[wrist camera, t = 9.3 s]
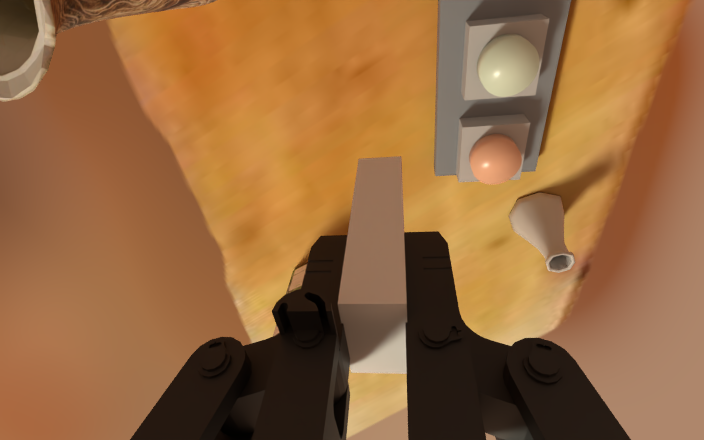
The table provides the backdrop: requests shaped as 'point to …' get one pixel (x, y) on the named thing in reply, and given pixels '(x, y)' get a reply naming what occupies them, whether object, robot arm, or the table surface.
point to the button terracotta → (495, 159)
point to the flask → (543, 228)
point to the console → (469, 93)
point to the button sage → (507, 65)
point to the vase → (54, 33)
